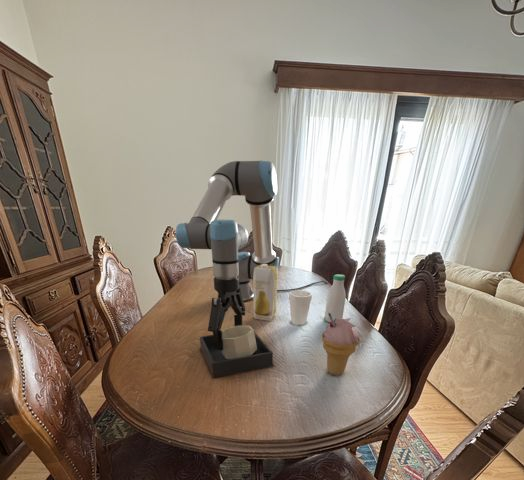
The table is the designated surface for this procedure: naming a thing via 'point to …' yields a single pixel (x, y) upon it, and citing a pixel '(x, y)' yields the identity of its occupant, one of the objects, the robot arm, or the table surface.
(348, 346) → the ice cream cone
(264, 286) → the juice carton
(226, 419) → the table surface
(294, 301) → the foam cup
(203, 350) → the tray
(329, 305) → the milk bottle
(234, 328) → the pot
